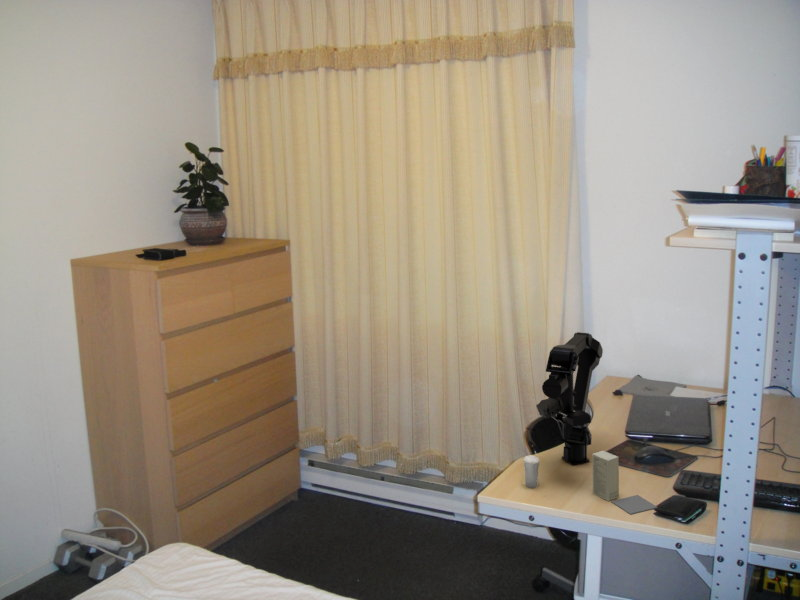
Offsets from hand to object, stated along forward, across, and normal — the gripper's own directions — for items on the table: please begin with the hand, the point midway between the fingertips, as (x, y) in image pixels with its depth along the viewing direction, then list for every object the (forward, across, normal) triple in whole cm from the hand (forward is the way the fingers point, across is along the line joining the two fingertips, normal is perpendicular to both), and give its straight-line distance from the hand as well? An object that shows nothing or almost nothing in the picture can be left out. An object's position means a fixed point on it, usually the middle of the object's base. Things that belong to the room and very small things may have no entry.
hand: (565, 438), depth 209 cm
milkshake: (+12, +2, -13) cm, 17 cm away
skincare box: (+12, +16, +2) cm, 20 cm away
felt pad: (+12, +24, +6) cm, 27 cm away
